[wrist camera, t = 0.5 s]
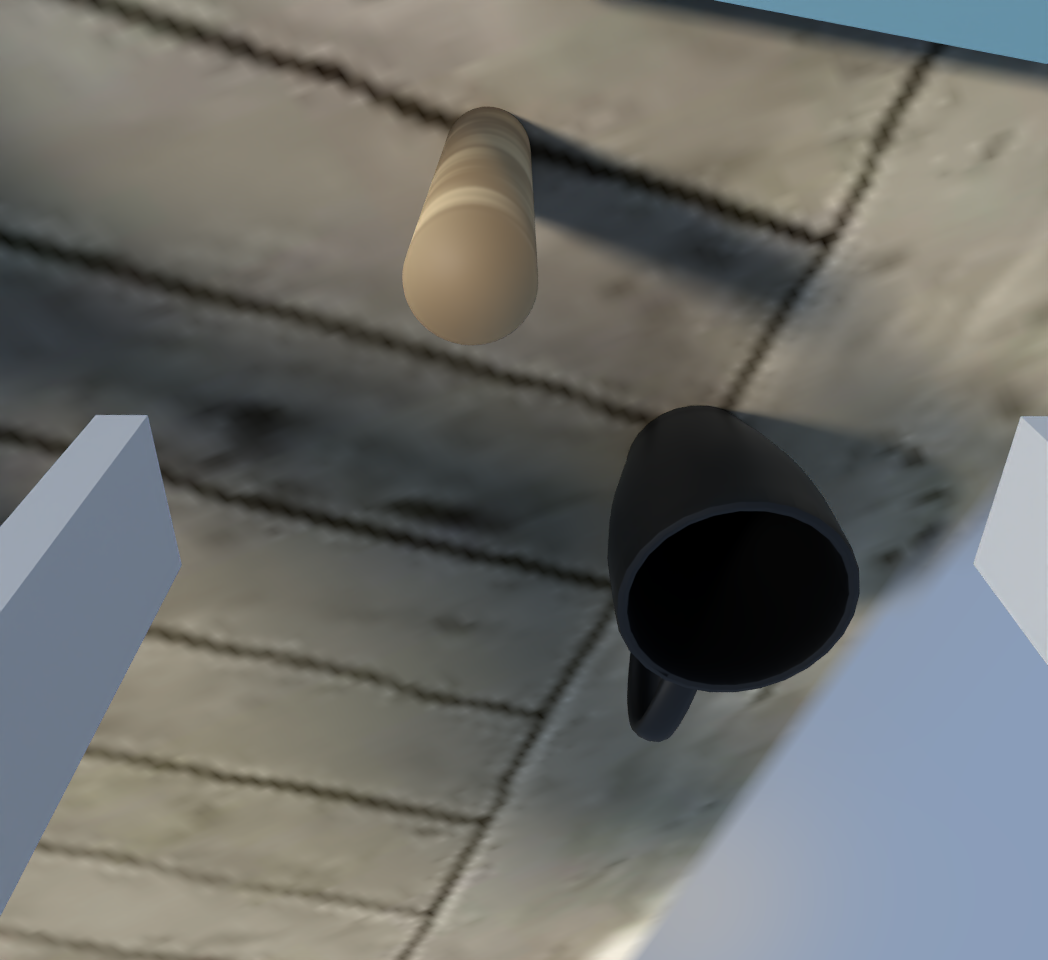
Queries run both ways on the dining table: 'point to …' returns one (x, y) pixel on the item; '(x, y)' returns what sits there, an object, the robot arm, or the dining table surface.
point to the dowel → (476, 234)
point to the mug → (720, 565)
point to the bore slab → (936, 21)
